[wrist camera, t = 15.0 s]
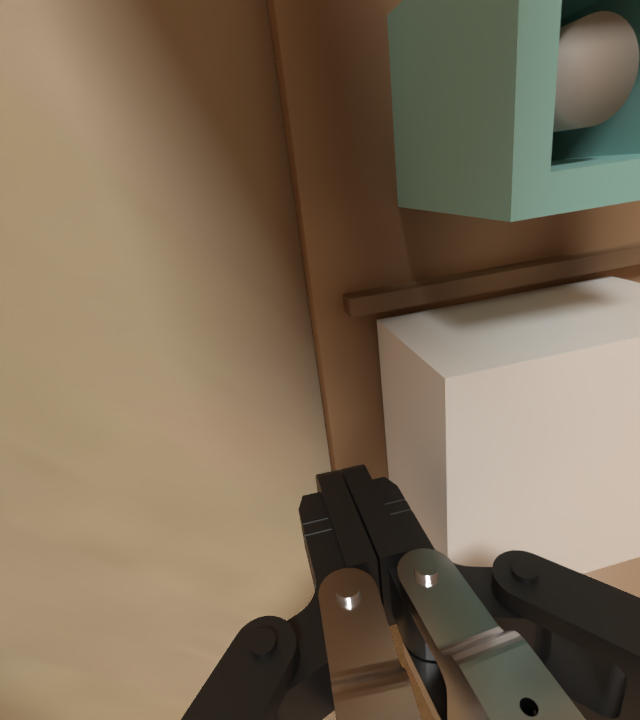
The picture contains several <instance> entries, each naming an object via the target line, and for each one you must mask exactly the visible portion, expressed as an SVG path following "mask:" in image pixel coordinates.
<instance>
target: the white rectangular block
mask: <svg viewBox="0 0 640 720" xmlns="http://www.w3.org/2000/svg"><path fill="white" fill-rule="evenodd" d="M377 331H378V344H379V357H380V370H381V383H382V396H383V409H384V422H385V435H386V449H387V462H388V475H389V480H390V481H391V482H393V483H394V484H396V485H397V486H398V488H399V489H400V491H401V493H402V494H403V496H404V498H405V500H406V501H407V503H408V504H409V506H410V508H411V511H413V513H414V515H415V516H416V518H417V520H418V521H419V523H420V525H421V527H422V528H423V530H424V532H425V533H426V535H427V537H428V538H429V540H430V542H431V544H432V545H433V547H434V548H435V550H436V551H439V552H441V553H443V554H444V555H446V556H447V557H448V558H449V559H450V560H451V561H452V562H453V563H455V564H458V565H463V566H473V567H493V563H494V560H495V559H496V558H497V557H498V556H499V555H500V554H502V553H504V552H507V551H512V550H520V551H526V552H530V553H533V554H535V555H538V556H540V557H542V558H545V559H547V560H550V561H552V562H555V563H557V564H559V565H562V566H564V567H567V568H569V569H571V570H574V571H576V572H579V573H581V574H583V573H587V572H590V571H593V570H596V569H600V568H603V567H607V566H610V565H613V564H617V563H620V562H624V561H627V560H630V559H634V558H637V557H640V283H638V282H634V281H630V280H626V279H622V278H617V277H613V276H606V277H601V278H596V279H590V280H585V281H580V282H574V283H569V284H564V285H558V286H553V287H548V288H542V289H537V290H532V291H526V292H521V293H516V294H510V295H505V296H500V297H494V298H489V299H484V300H479V301H473V302H468V303H463V304H457V305H452V306H447V307H441V308H436V309H431V310H425V311H420V312H415V313H409V314H404V315H399V316H393V317H388V318H383V319H377Z"/></svg>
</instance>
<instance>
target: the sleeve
mask: <svg viewBox="0 0 640 720" xmlns="http://www.w3.org/2000/svg"><path fill="white" fill-rule="evenodd" d="M600 11H610V12H614V13H616V14H619V15H620V16H622V17H623V18H624V19H625V20H627V21H628V23H629V24H630V25H631V27H632V29H633V30H634V32H635V35H636V38H637V42H638V47H639V67H638V73H637V77H636V80H635V83H634V86H633V89H632V91H631V93H630V95H629V97H628V98H627V100H626V102H625V103H624V104H623V106H622V107H621V108H620V109H619V110H618V111H617V113H615V114H614V115H613V116H612V117H611V118H609V119H608V120H607V121H605V122H603V123H601V124H598V125H596V126H591V127H585V128H578V129H571V130H564V131H558V132H553V125H554V110H555V96H556V81H557V66H558V52H559V37H560V27H563V26H565V25H567V24H569V23H572V22H574V21H576V20H578V19H580V18H583V17H585V16H587V15H589V14H592V13H595V12H600ZM387 21H388V39H389V57H390V74H391V92H392V110H393V127H394V145H395V162H396V180H397V198H398V207H403V208H411V209H418V210H425V211H433V212H440V213H448V214H455V215H462V216H470V217H477V218H485V219H492V220H499V221H507V222H514V221H520V220H526V219H532V218H537V217H543V216H549V215H555V214H561V213H567V212H573V211H579V210H585V209H591V208H597V207H603V206H609V205H615V204H621V203H627V202H633V201H639V200H640V0H403V1H402V2H401V3H400V4H399V5H398V6H397V7H396V8H395V9H394V10H392V11H391V12H390V13H389V14H388V15H387Z"/></svg>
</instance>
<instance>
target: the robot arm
mask: <svg viewBox="0 0 640 720" xmlns="http://www.w3.org/2000/svg"><path fill="white" fill-rule="evenodd" d="M316 483H317V490H318V493H313V494H309V495H305V496H303V497H302V500H301V503H300V507H299V514H300V520H301V526H302V532H303V538H304V543H305V549H306V553H307V557H308V562H309V566H310V570H311V574H312V579H313V583H314V587H315V593H314V596H313V598H312V600H311V602H310V603H309V604H308V605H307V607H306V608H305V609H304V610H303V611H301V612H300V613H298V614H297V615H295V616H294V617H292V618H291V619H289V620H288V621H286V620H284V619H282V618H280V617H276V616H264V617H259V618H257V619H254V620H253V621H251V622H249V623H248V624H246V625H245V626H244V627H243V628H242V629H241V630H240V631H239V633H238V634H237V635H236V637H235V638H234V640H233V642H232V643H231V645H230V646H229V648H228V649H227V651H226V652H225V654H224V655H223V657H222V658H221V660H220V661H219V663H218V664H217V666H216V667H215V669H214V670H213V672H212V673H211V675H210V676H209V678H208V679H207V681H206V683H205V684H204V686H203V687H202V689H201V690H200V692H199V693H198V695H197V696H196V698H195V699H194V701H193V702H192V704H191V705H190V707H189V708H188V710H187V711H186V713H185V714H184V716H183V717H182V719H181V720H322V719H323V718H325V717H326V716H327V715H329V714H330V713H331V712H332V711H334V710H335V714H336V720H422V719H421V715H420V712H419V709H418V706H417V702H416V699H415V696H414V693H413V689H412V686H411V683H410V680H409V677H408V674H407V672H406V670H405V668H402V667H401V664H400V662H399V658H398V655H397V652H396V648H395V645H394V642H393V638H392V635H391V631H390V628H389V626H391V625H394V624H397V627H398V629H399V632H400V634H401V637H402V649H403V654H404V656H405V659H406V661H407V663H408V665H409V667H410V669H411V671H412V673H413V676H414V678H415V680H416V682H417V684H418V686H419V688H420V690H421V692H422V694H423V697H424V699H425V701H426V703H427V705H428V707H429V709H430V711H431V713H432V715H433V718H434V720H640V598H639V597H636V596H634V595H631V594H629V593H627V592H624V591H622V590H619V589H617V588H615V587H612V586H610V585H608V584H605V583H603V582H600V581H598V580H595V579H593V578H591V577H588V576H586V575H583V574H581V573H579V572H576V571H574V570H571V569H569V568H567V567H564V566H562V565H559V564H557V563H555V562H552V561H550V560H547V559H545V558H542V557H540V556H538V555H535V554H533V553H530V552H526V551H520V550H512V551H507V552H504V553H502V554H500V555H499V556H498V557H497V558H496V559H495V560H494V563H493V567H473V566H463V565H458V564H455V563H453V562H452V561H451V560H450V559H449V558H448V557H447V556H446V555H444V554H443V553H441V552H439V551H436V550H435V548H434V547H433V545H432V544H431V542H430V540H429V538H428V537H427V535H426V533H425V532H424V530H423V528H422V527H421V525H420V523H419V521H418V520H417V518H416V516H415V515H414V513H413V511H411V508H410V506H409V504H408V503H407V501H406V500H405V498H404V496H403V494H402V493H401V491H400V489H399V488H398V486H397V485H396V484H394V483H393V482H391V481H390V480H389V479H387V478H386V477H381V478H377V479H373V480H372V478H371V476H370V474H369V472H368V470H367V468H366V466H365V465H364V464H361V465H357V466H352V467H348V468H344V469H340V470H335V471H331V472H327V473H322V474H318V475H316Z"/></svg>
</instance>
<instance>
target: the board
mask: <svg viewBox="0 0 640 720" xmlns="http://www.w3.org/2000/svg"><path fill="white" fill-rule="evenodd" d="M402 1H403V0H267V3H268V11H269V18H270V25H271V33H272V40H273V47H274V54H275V62H276V69H277V76H278V84H279V91H280V98H281V106H282V113H283V120H284V128H285V135H286V142H287V149H288V157H289V164H290V171H291V179H292V186H293V193H294V201H295V208H296V215H297V222H298V230H299V237H300V244H301V252H302V259H303V266H304V274H305V281H306V288H307V295H308V303H309V310H310V317H311V325H312V332H313V339H314V347H315V354H316V361H317V369H318V376H319V383H320V390H321V398H322V405H323V412H324V420H325V427H326V434H327V442H328V449H329V456H330V463H331V471H335V470H340V469H344V468H348V467H352V466H357V465H361V464H364V465H365V466H366V468H367V470H368V472H369V474H370V476H371V478H372V480H373V479H377V478H381V477H386V478H387V479H389V475H388V462H387V449H386V435H385V422H384V409H383V396H382V383H381V370H380V357H379V344H378V331H377V319H383V318H388V317H393V316H399V315H404V314H409V313H415V312H420V311H425V310H431V309H436V308H441V307H447V306H452V305H457V304H463V303H468V302H473V301H479V300H484V299H489V298H494V297H500V296H505V295H510V294H516V293H521V292H526V291H532V290H537V289H542V288H548V287H553V286H558V285H564V284H569V283H574V282H580V281H585V280H590V279H596V278H601V277H606V276H613V277H617V278H622V279H626V280H630V281H634V282H638V283H640V200H639V201H633V202H627V203H621V204H615V205H609V206H603V207H597V208H591V209H585V210H579V211H573V212H567V213H561V214H555V215H549V216H543V217H537V218H532V219H526V220H520V221H514V222H507V221H499V220H492V219H485V218H477V217H470V216H462V215H455V214H448V213H440V212H433V211H425V210H418V209H411V208H403V207H398V198H397V180H396V162H395V145H394V127H393V110H392V92H391V74H390V57H389V39H388V21H387V15H388V14H389V13H390V12H391V11H392V10H394V9H395V8H396V7H397V6H398V5H399V4H400V3H401V2H402ZM638 67H639V47H638V42H637V38H636V35H635V32H634V30H633V29H632V27H631V25H630V24H629V23H628V21H627V20H625V19H624V18H623V17H622V16H620V15H619V14H616V13H614V12H610V11H600V12H595V13H592V14H589V15H587V16H585V17H583V18H580V19H578V20H576V21H574V22H572V23H569V24H567V25H565V26H563V27H560V37H559V52H558V66H557V81H556V96H555V110H554V125H553V132H558V131H564V130H571V129H578V128H585V127H591V126H596V125H598V124H601V123H603V122H605V121H607V120H608V119H609V118H611V117H612V116H613V115H614V114H615V113H617V111H618V110H619V109H620V108H621V107H622V106H623V104H624V103H625V102H626V100H627V98H628V97H629V95H630V93H631V91H632V89H633V86H634V83H635V80H636V77H637V73H638Z"/></svg>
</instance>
